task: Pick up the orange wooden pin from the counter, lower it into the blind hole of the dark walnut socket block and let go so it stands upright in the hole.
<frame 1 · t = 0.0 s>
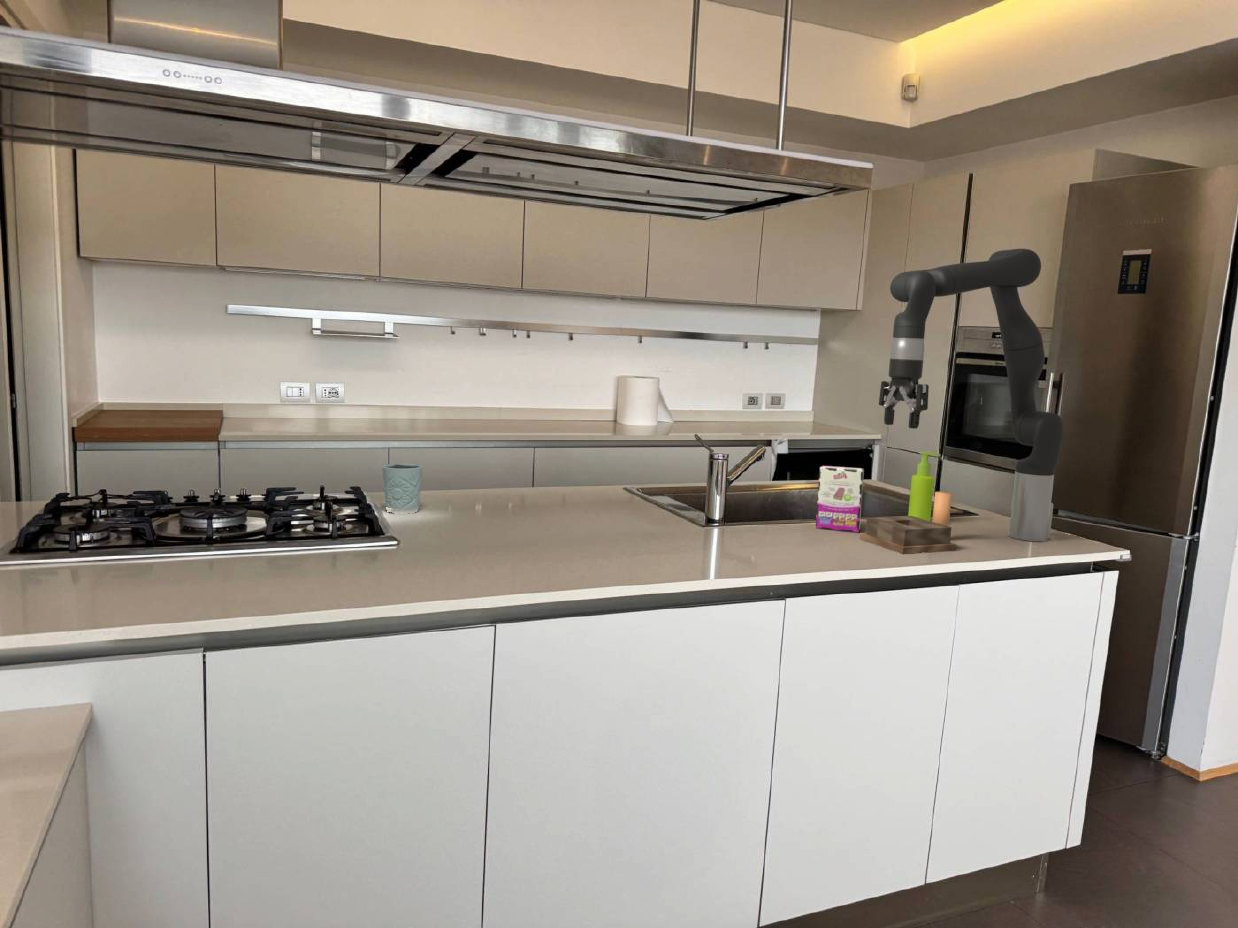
hand: (900, 426, 210), 29 cm above the counter, tool pointing down, fingers open, 8 cm apart
wooden pin: (939, 539, 225), on the counter
socket block: (906, 544, 217), on the counter
soap dispenser: (920, 523, 245), on the counter
teal embossed pot: (402, 511, 231), on the counter
candy bar box: (837, 529, 232), on the counter
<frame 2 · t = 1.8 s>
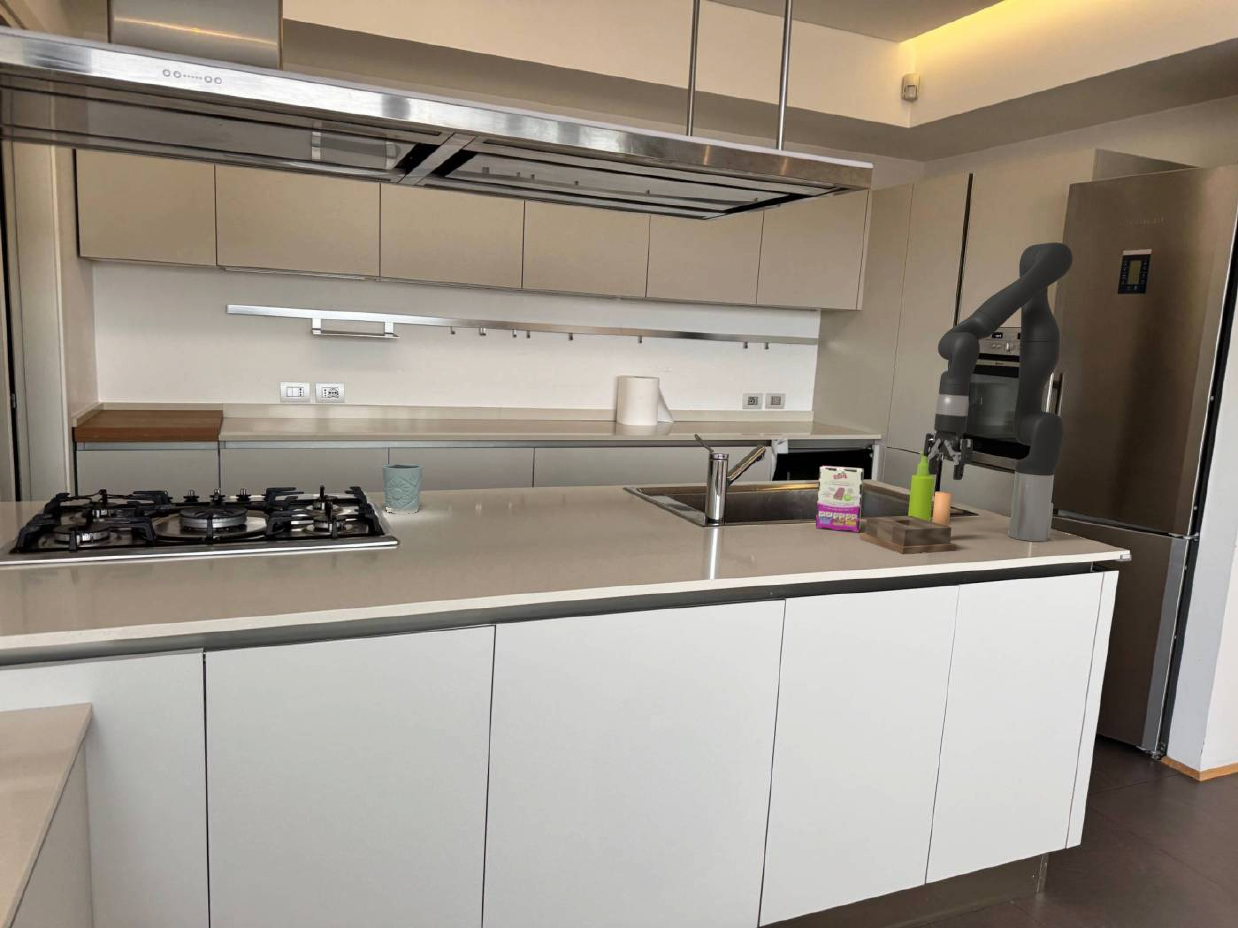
hand: (944, 477, 223), 16 cm above the counter, tool pointing down, fingers open, 8 cm apart
nothing on the counter moved.
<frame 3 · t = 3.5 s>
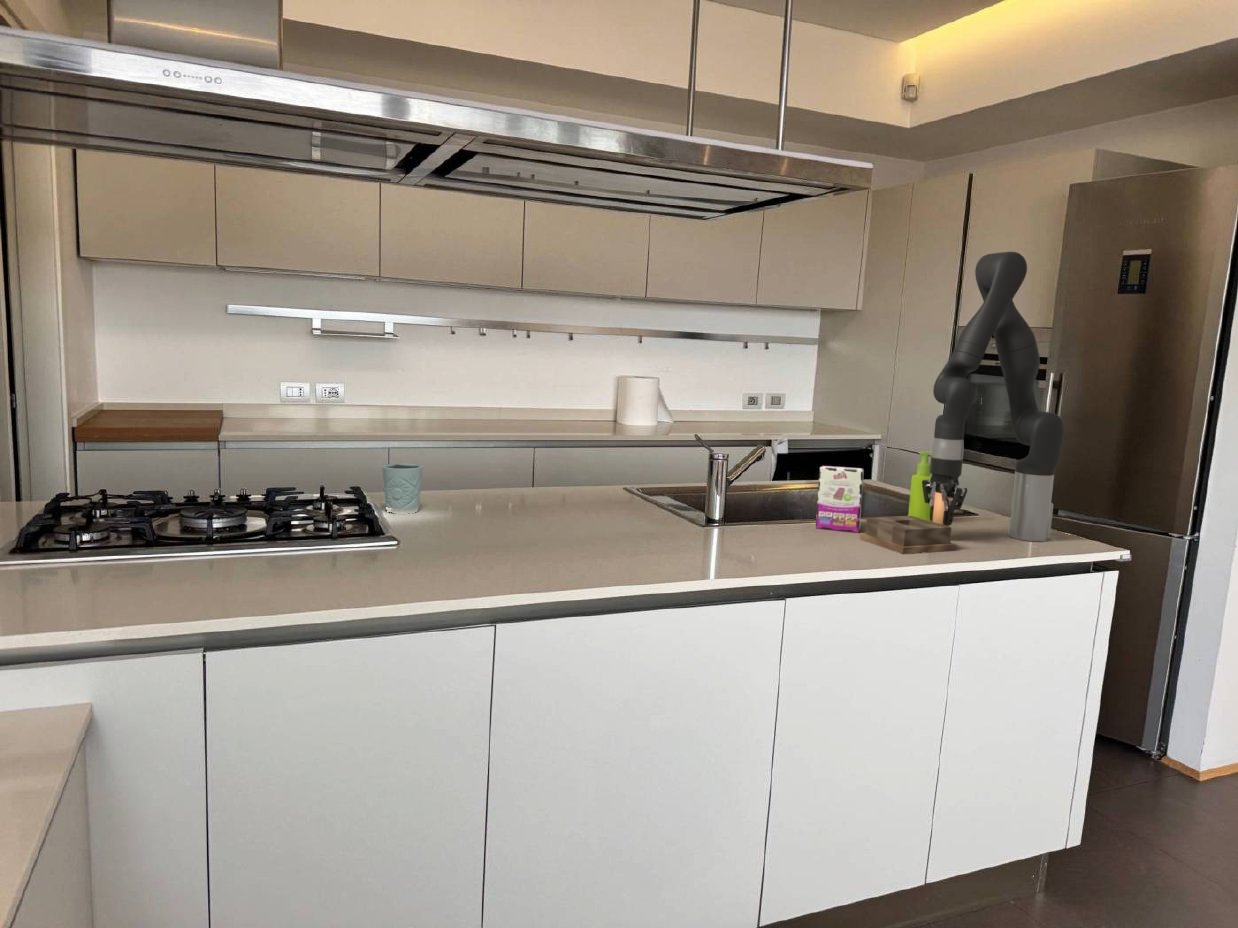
hand: (940, 522, 224), 4 cm above the counter, tool pointing down, fingers closed on wooden pin, 4 cm apart
wooden pin: (939, 539, 225), on the counter, touching gripper
everything else where it was.
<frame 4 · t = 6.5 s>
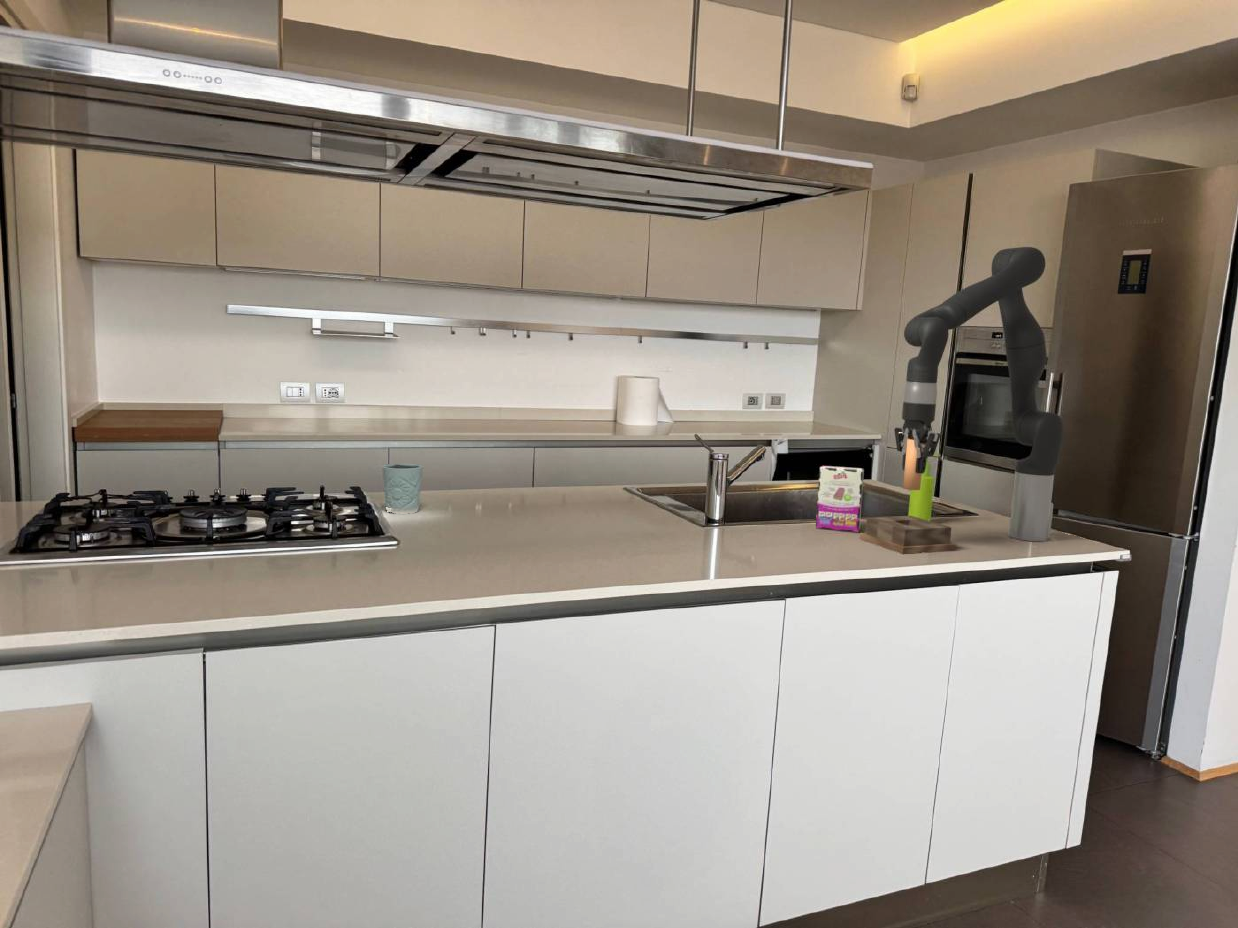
hand: (913, 471, 215), 18 cm above the counter, tool pointing down, fingers closed on wooden pin, 4 cm apart
wooden pin: (911, 488, 215), point 14 cm above the counter, touching gripper
everything else where it was.
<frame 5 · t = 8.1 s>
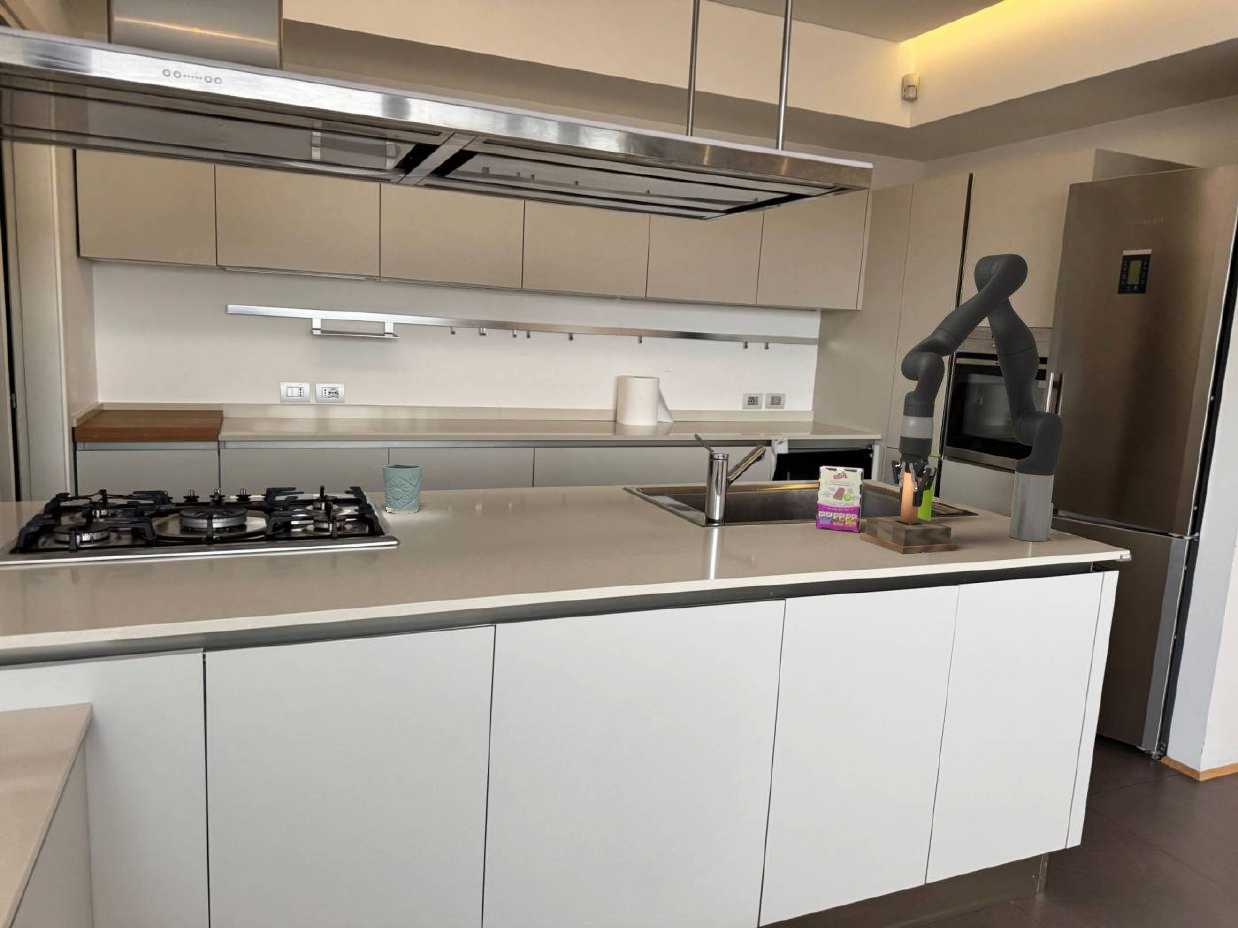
hand: (910, 504, 216), 10 cm above the counter, tool pointing down, fingers closed on wooden pin, 4 cm apart
wooden pin: (908, 521, 216), point 6 cm above the counter, touching gripper
everything else where it was.
when the fingers open (7 cm above the counter, at t = 9.5 s): wooden pin stays where it is, resting on socket block.
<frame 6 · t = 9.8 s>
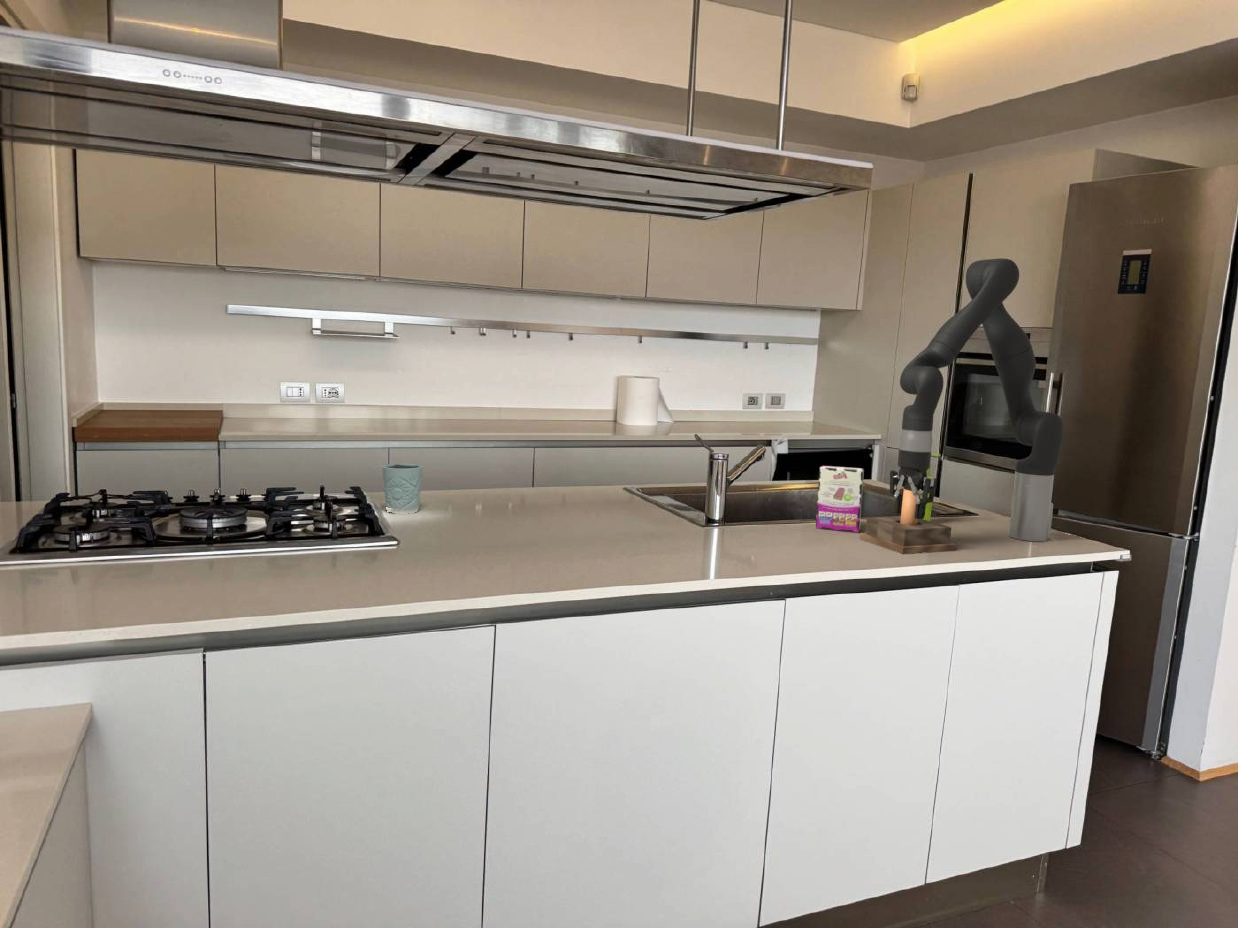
hand: (909, 515, 216), 7 cm above the counter, tool pointing down, fingers open, 6 cm apart
wooden pin: (907, 538, 217), point 2 cm above the counter, touching socket block
everything else where it was.
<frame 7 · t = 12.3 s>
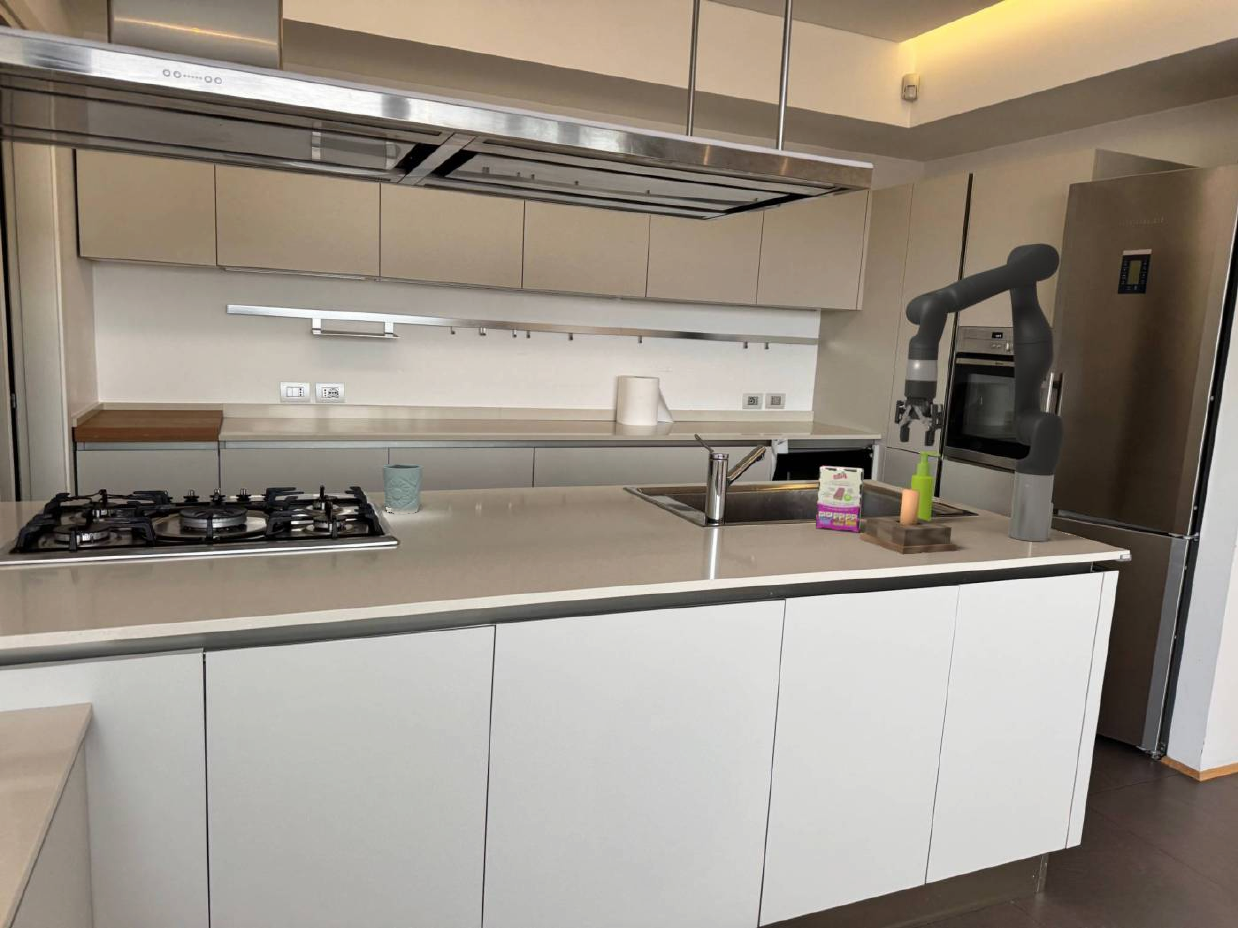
hand: (916, 444, 219), 24 cm above the counter, tool pointing down, fingers open, 8 cm apart
nothing on the counter moved.
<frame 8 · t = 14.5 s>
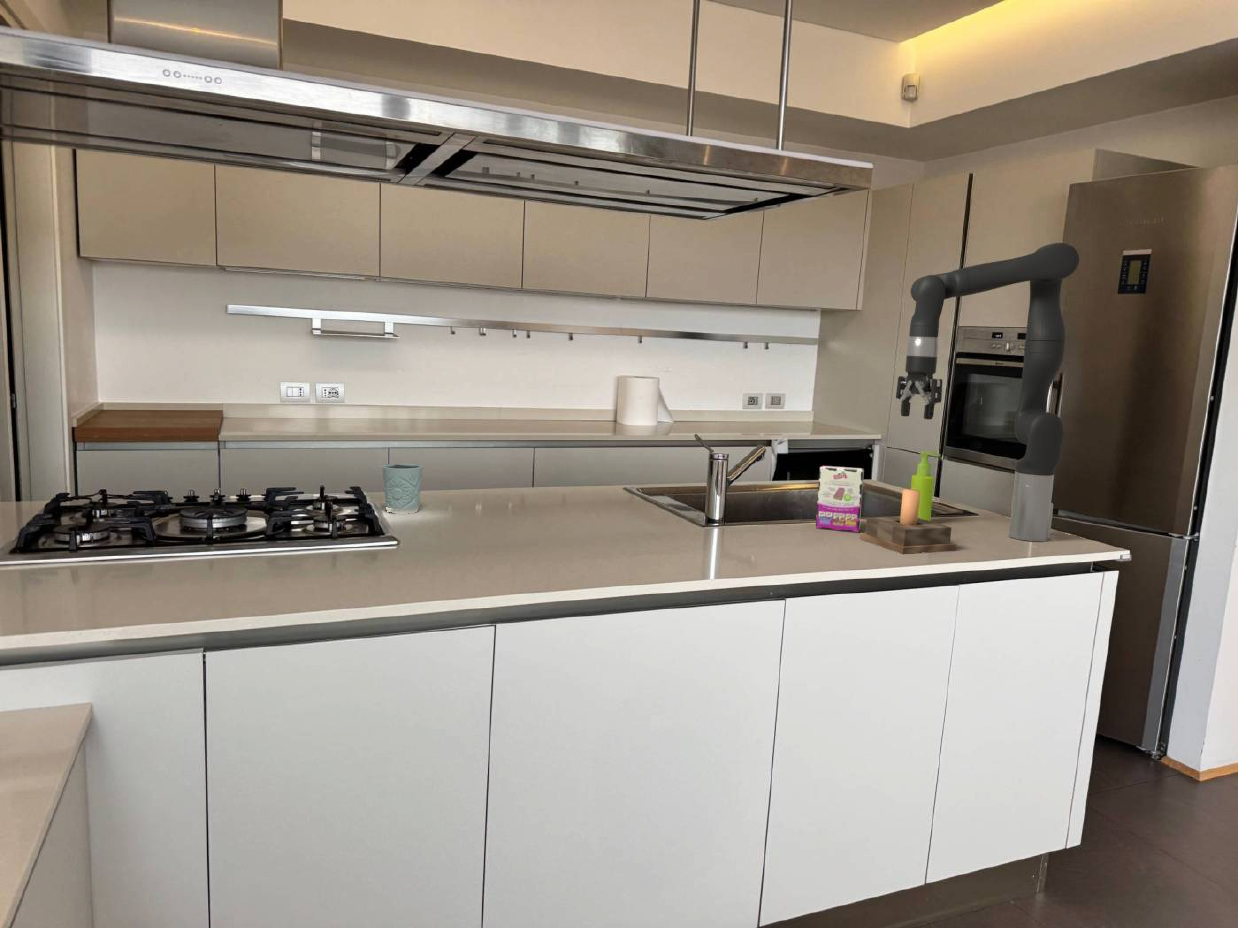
hand: (916, 417, 229), 30 cm above the counter, tool pointing down, fingers open, 8 cm apart
nothing on the counter moved.
at the end: wooden pin 0.0 cm off-centre on the socket block, point 1.5 cm above the socket block's base; wooden pin tilted 0°; the gripper is holding nothing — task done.
